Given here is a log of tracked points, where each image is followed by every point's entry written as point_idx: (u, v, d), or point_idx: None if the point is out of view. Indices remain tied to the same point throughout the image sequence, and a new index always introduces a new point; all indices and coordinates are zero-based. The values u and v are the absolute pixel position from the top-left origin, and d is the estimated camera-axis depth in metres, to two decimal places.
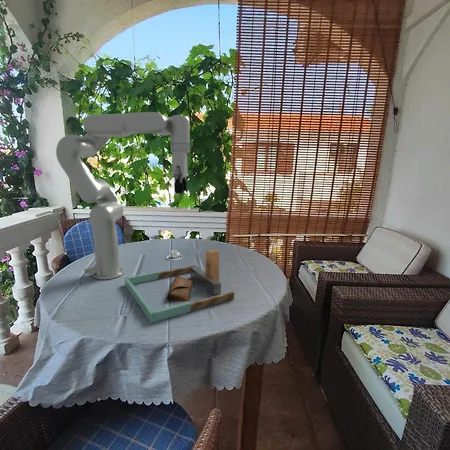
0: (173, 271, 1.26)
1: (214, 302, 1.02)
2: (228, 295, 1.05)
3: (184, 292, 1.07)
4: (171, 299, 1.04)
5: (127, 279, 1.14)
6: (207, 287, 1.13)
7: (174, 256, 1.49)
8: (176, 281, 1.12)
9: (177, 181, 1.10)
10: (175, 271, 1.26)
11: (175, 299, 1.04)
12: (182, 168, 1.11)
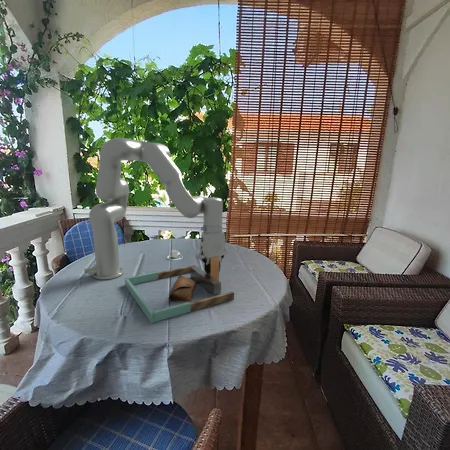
0: (173, 271, 1.26)
1: (214, 302, 1.02)
2: (228, 295, 1.05)
3: (187, 292, 1.07)
4: (173, 299, 1.04)
5: (127, 279, 1.14)
6: (207, 287, 1.13)
7: (174, 256, 1.49)
8: (179, 281, 1.12)
9: None
10: (175, 271, 1.26)
11: (177, 299, 1.04)
12: None
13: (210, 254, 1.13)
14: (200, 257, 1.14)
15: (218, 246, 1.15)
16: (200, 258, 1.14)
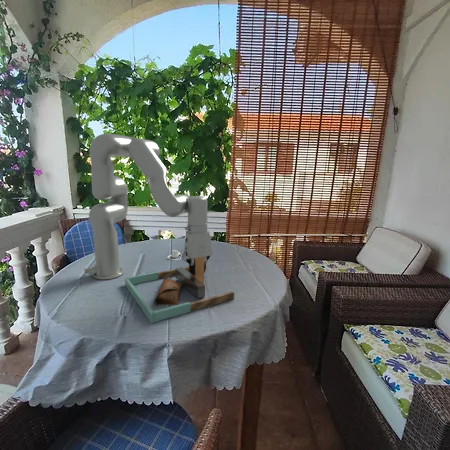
0: (173, 271, 1.26)
1: (214, 302, 1.02)
2: (228, 295, 1.05)
3: (173, 295, 1.04)
4: (159, 302, 1.01)
5: (127, 279, 1.14)
6: (191, 289, 1.10)
7: (175, 256, 1.49)
8: (165, 284, 1.09)
9: None
10: (175, 271, 1.26)
11: (163, 302, 1.01)
12: None
13: (195, 255, 1.09)
14: (184, 258, 1.10)
15: (203, 246, 1.11)
16: (184, 259, 1.10)
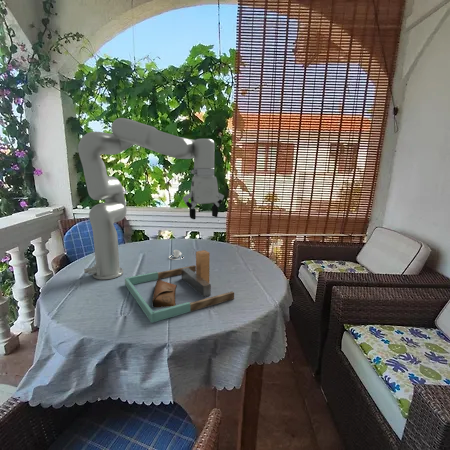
0: (173, 271, 1.26)
1: (214, 302, 1.02)
2: (228, 295, 1.05)
3: (169, 297, 1.03)
4: (156, 305, 0.99)
5: (127, 279, 1.14)
6: (197, 289, 1.11)
7: (176, 256, 1.49)
8: (159, 286, 1.08)
9: None
10: (175, 271, 1.26)
11: (161, 305, 1.00)
12: None
13: (201, 199, 1.06)
14: (186, 198, 1.05)
15: (210, 192, 1.08)
16: (186, 199, 1.05)
